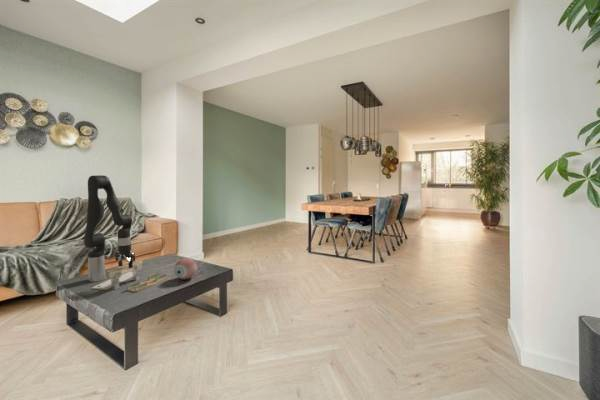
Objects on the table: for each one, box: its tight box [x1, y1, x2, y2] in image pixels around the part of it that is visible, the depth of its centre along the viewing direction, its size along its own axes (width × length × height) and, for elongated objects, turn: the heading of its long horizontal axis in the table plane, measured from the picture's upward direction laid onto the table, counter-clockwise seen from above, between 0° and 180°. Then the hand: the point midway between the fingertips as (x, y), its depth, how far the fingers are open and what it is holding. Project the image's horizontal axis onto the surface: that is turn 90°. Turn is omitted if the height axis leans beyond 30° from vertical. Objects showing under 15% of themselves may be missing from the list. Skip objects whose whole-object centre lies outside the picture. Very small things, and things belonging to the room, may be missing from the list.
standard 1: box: [110, 272, 121, 291], centre depth 172 cm, size 6×4×11 cm, turn 76°
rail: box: [106, 260, 144, 280], centre depth 179 cm, size 4×24×5 cm, turn 166°
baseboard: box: [90, 271, 133, 291], centre depth 186 cm, size 31×3×12 cm
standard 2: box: [131, 264, 143, 282], centre depth 187 cm, size 6×4×11 cm, turn 76°
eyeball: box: [173, 257, 198, 280], centre depth 189 cm, size 15×15×15 cm
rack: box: [125, 272, 168, 293], centre depth 180 cm, size 9×26×3 cm, turn 166°
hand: (125, 267), depth 179 cm, fingers open, 8 cm apart
